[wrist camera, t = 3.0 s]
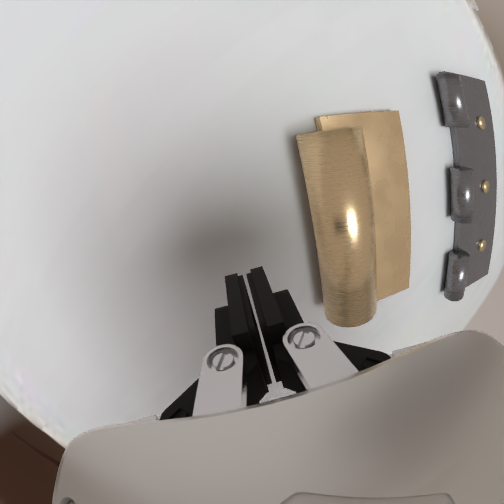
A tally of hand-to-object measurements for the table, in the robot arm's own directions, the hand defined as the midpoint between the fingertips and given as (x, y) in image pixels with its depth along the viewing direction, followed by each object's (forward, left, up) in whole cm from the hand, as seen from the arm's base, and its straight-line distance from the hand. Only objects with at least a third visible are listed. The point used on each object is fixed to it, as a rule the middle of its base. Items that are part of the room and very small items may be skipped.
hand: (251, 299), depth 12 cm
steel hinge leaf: (-1, -26, -8) cm, 27 cm away
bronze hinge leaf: (-1, -10, -9) cm, 13 cm away
